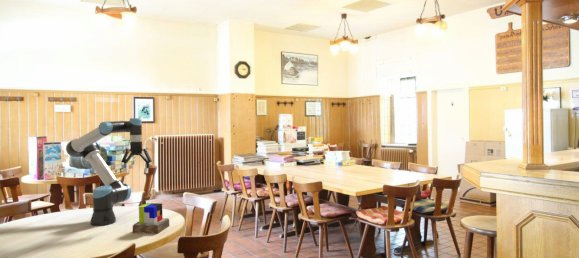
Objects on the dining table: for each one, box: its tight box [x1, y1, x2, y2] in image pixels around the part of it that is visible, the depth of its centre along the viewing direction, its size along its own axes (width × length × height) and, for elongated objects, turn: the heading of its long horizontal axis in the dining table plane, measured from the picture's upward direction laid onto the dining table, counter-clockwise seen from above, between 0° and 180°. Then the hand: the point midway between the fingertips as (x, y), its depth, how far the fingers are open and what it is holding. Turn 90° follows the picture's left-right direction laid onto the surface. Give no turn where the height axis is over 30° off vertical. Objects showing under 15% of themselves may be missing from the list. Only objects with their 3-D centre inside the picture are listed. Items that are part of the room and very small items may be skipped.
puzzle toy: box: [138, 202, 164, 224], centre depth 247 cm, size 10×10×10 cm
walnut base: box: [132, 217, 170, 234], centre depth 247 cm, size 16×16×5 cm
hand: (137, 173), depth 268 cm, fingers open, 13 cm apart
